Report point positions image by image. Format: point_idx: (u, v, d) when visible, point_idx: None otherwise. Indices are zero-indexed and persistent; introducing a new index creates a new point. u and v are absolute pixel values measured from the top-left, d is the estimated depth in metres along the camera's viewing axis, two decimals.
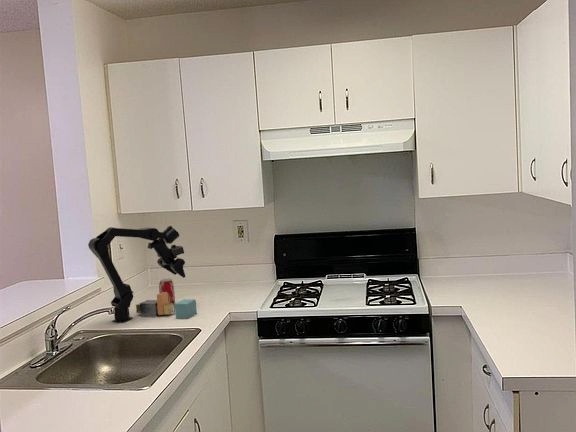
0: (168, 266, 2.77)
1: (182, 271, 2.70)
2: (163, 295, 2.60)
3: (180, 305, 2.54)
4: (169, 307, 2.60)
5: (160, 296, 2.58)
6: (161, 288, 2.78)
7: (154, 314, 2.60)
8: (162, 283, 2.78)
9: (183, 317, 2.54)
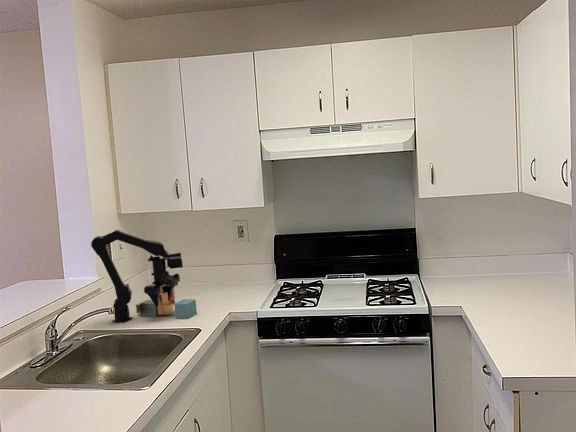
0: (166, 289, 2.66)
1: (155, 299, 2.56)
2: (163, 295, 2.60)
3: (180, 305, 2.54)
4: (169, 307, 2.60)
5: (160, 296, 2.58)
6: (161, 288, 2.78)
7: (154, 314, 2.60)
8: None
9: (183, 317, 2.54)
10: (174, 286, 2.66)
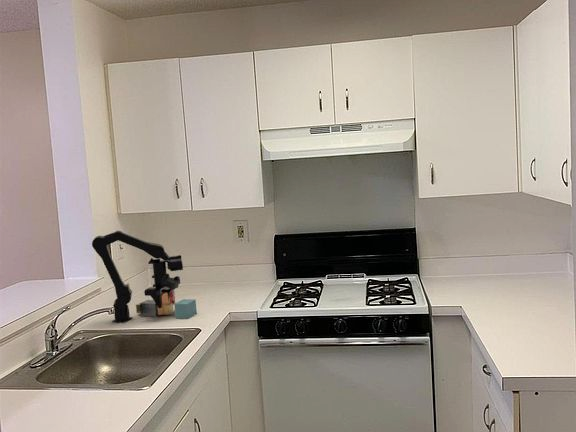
0: None
1: (158, 301, 2.58)
2: (163, 295, 2.60)
3: (180, 305, 2.54)
4: (169, 307, 2.60)
5: None
6: None
7: (154, 314, 2.60)
8: None
9: (183, 317, 2.54)
10: (172, 289, 2.64)
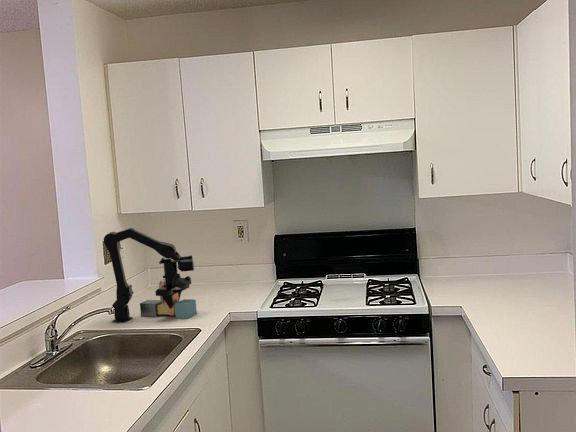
0: None
1: (169, 301, 2.56)
2: (174, 295, 2.58)
3: (180, 305, 2.54)
4: None
5: None
6: None
7: (154, 314, 2.60)
8: (162, 283, 2.78)
9: (183, 317, 2.54)
10: None
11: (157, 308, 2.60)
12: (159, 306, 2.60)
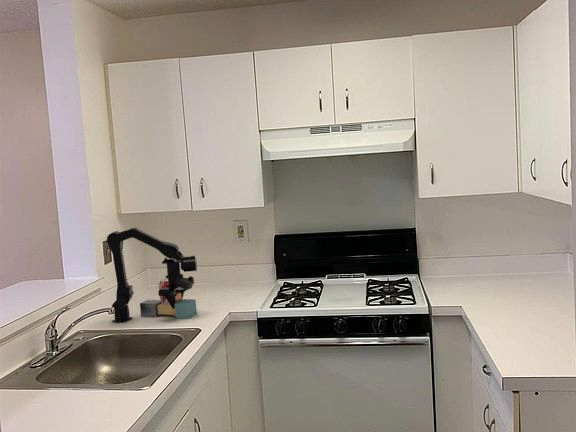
0: None
1: (172, 301, 2.55)
2: (177, 295, 2.57)
3: (180, 305, 2.54)
4: None
5: None
6: (161, 288, 2.78)
7: (154, 314, 2.60)
8: (162, 283, 2.78)
9: (183, 317, 2.54)
10: None
11: (160, 308, 2.60)
12: (162, 306, 2.59)
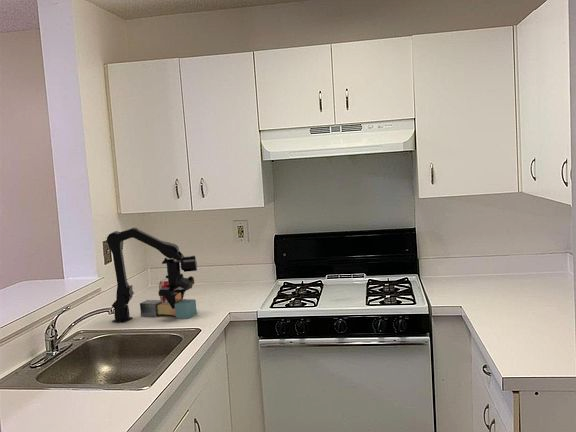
0: None
1: (172, 301, 2.55)
2: (177, 295, 2.57)
3: (180, 305, 2.54)
4: None
5: None
6: (161, 288, 2.78)
7: (154, 314, 2.60)
8: (162, 283, 2.78)
9: (183, 317, 2.54)
10: (186, 290, 2.62)
11: (160, 308, 2.60)
12: (162, 306, 2.59)
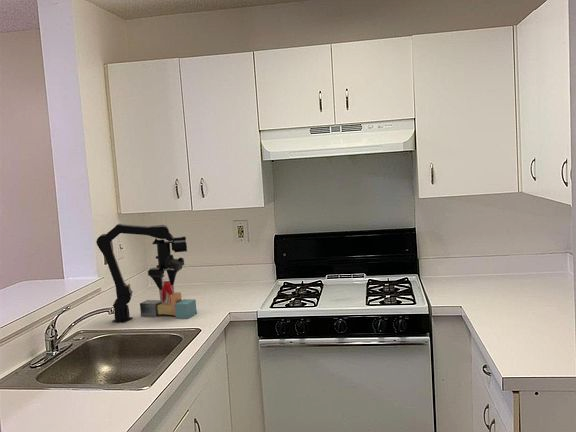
0: (170, 273, 2.65)
1: (159, 283, 2.55)
2: (177, 295, 2.57)
3: (180, 305, 2.54)
4: None
5: (174, 296, 2.56)
6: None
7: (154, 314, 2.60)
8: (162, 283, 2.78)
9: (183, 317, 2.54)
10: (178, 270, 2.65)
11: (160, 308, 2.60)
12: (162, 306, 2.59)
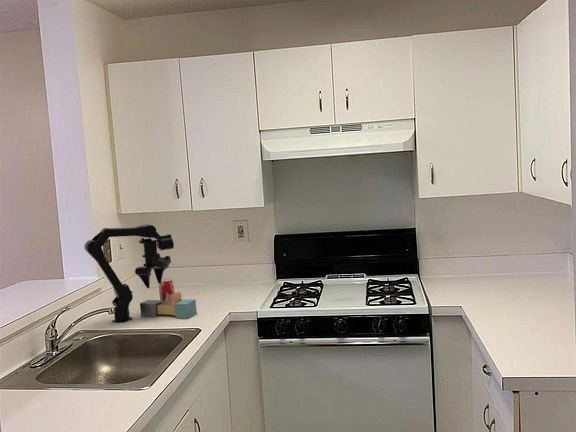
0: (157, 271, 2.69)
1: (146, 281, 2.59)
2: (177, 295, 2.57)
3: (180, 305, 2.54)
4: None
5: (174, 296, 2.56)
6: (161, 288, 2.78)
7: (154, 314, 2.60)
8: (162, 283, 2.78)
9: (183, 317, 2.54)
10: (165, 268, 2.69)
11: (160, 308, 2.60)
12: (162, 306, 2.59)
